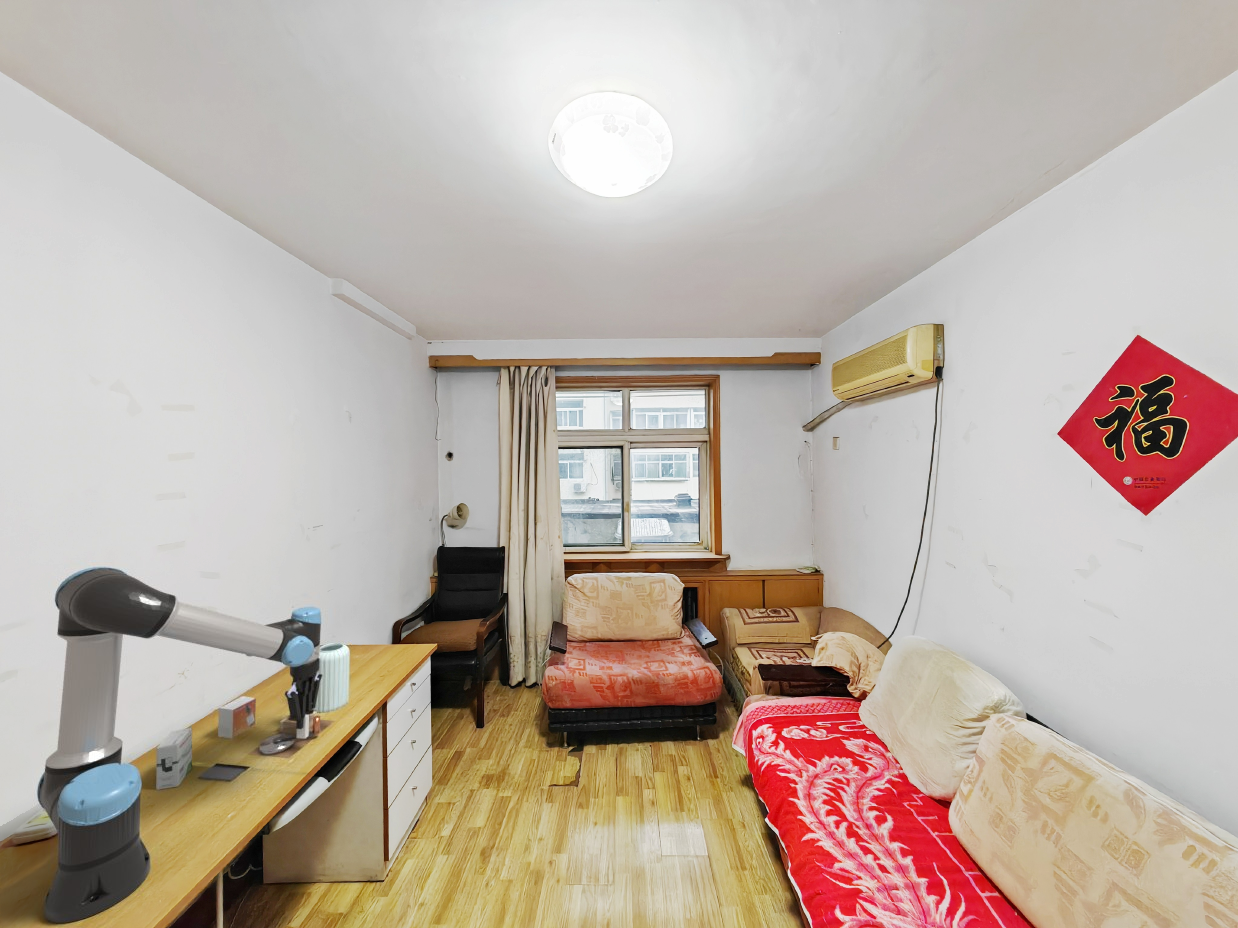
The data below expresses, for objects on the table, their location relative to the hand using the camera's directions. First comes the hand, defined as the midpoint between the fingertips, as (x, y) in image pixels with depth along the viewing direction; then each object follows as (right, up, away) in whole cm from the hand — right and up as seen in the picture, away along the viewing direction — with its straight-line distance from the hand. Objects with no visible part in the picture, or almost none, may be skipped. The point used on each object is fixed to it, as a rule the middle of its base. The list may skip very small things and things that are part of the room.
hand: (302, 736), depth 147 cm
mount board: (-7, -5, +6) cm, 11 cm away
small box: (-27, -5, +9) cm, 29 cm away
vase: (-7, -5, +26) cm, 27 cm away
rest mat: (-16, -5, -7) cm, 18 cm away
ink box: (-28, -5, -12) cm, 31 cm away
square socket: (-9, -3, +12) cm, 15 cm away
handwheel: (-5, -3, +3) cm, 7 cm away
